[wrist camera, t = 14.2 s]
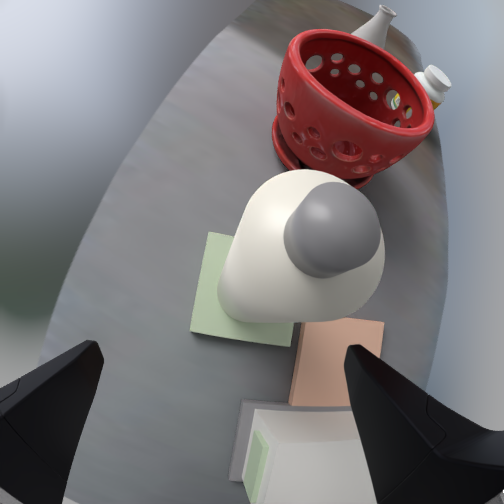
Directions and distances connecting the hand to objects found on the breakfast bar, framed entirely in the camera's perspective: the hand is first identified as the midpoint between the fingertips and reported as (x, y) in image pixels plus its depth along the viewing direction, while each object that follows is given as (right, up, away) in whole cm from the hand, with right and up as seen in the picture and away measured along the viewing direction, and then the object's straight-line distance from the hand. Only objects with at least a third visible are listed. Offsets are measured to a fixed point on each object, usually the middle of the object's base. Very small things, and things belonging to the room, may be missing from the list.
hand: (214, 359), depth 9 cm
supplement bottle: (+24, +24, +25) cm, 42 cm away
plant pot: (+8, +14, +19) cm, 26 cm away
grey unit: (+6, -13, +12) cm, 19 cm away
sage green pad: (+1, 0, +14) cm, 14 cm away
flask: (+21, +40, +28) cm, 54 cm away
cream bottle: (+1, +1, +13) cm, 13 cm away
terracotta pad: (+9, -6, +14) cm, 18 cm away
